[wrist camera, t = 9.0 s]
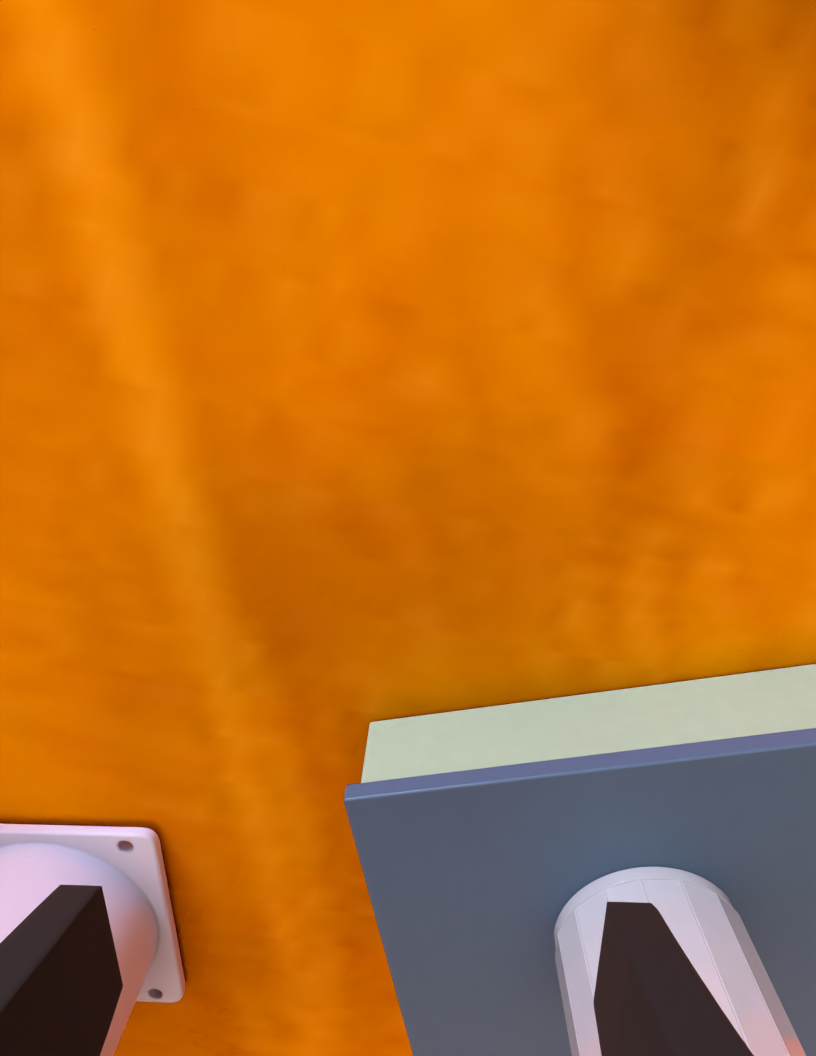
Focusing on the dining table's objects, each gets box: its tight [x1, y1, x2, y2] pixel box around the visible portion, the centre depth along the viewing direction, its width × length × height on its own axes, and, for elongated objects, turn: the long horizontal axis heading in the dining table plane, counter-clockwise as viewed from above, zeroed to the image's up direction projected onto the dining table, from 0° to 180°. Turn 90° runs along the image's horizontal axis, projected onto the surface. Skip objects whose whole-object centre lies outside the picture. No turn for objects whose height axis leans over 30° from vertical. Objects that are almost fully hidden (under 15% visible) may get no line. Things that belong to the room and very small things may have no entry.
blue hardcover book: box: [344, 664, 816, 1056], centre depth 20 cm, size 15×12×4 cm
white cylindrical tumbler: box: [554, 866, 806, 1056], centre depth 16 cm, size 5×5×6 cm
